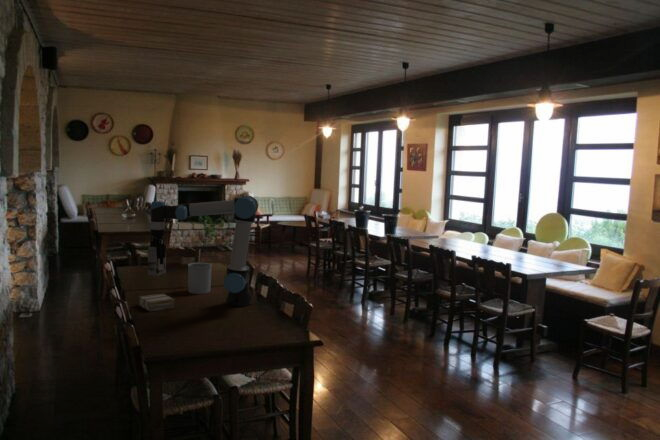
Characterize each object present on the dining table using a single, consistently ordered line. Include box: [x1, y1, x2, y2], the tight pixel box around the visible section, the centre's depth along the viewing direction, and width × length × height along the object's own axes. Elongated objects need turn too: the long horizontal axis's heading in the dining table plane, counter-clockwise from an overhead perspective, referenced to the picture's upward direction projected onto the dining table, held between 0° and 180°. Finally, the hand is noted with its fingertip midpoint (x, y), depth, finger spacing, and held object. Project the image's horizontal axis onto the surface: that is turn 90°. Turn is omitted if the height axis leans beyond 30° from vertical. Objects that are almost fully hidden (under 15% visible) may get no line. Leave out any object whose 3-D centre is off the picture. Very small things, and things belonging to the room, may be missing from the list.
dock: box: [138, 293, 176, 312], centre depth 306 cm, size 16×14×5 cm
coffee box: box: [147, 244, 167, 276], centre depth 304 cm, size 9×6×16 cm
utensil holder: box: [187, 262, 213, 295], centre depth 346 cm, size 15×15×18 cm
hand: (157, 268), depth 304 cm, fingers closed on coffee box, 10 cm apart
